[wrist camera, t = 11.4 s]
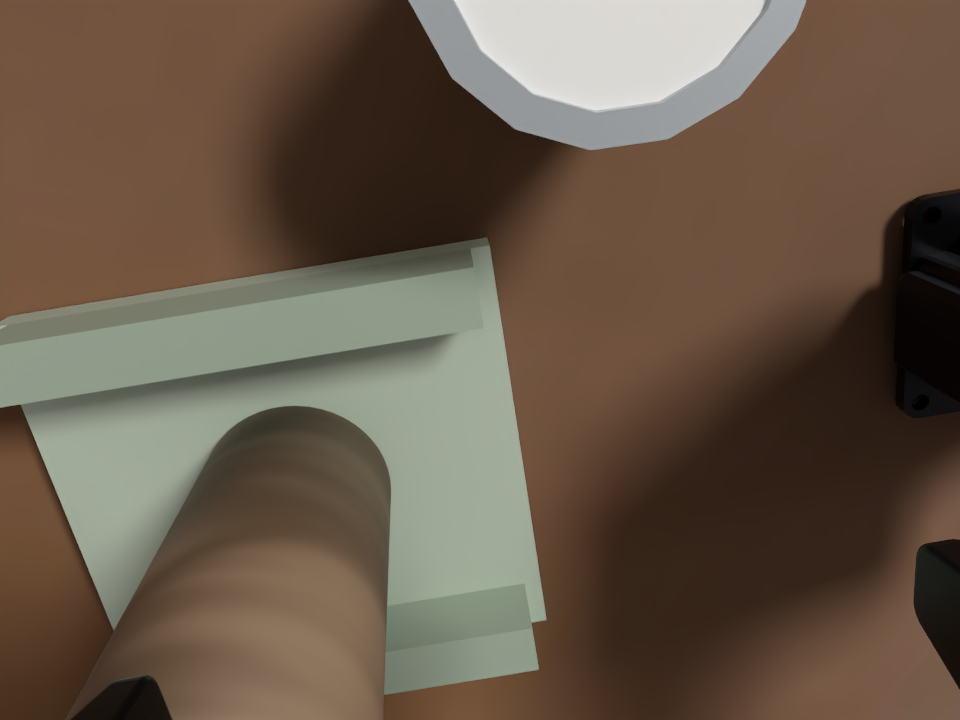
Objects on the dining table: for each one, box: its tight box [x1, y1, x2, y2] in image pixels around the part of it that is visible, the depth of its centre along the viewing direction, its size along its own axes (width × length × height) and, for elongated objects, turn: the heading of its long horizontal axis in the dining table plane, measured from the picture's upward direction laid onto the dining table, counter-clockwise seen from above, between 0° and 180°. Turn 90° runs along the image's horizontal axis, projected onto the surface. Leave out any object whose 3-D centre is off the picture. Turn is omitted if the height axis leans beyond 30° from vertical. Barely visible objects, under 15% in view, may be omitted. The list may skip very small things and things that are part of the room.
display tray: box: [0, 237, 547, 695], centre depth 21 cm, size 13×12×3 cm
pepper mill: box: [65, 406, 391, 720], centre depth 15 cm, size 5×5×15 cm
